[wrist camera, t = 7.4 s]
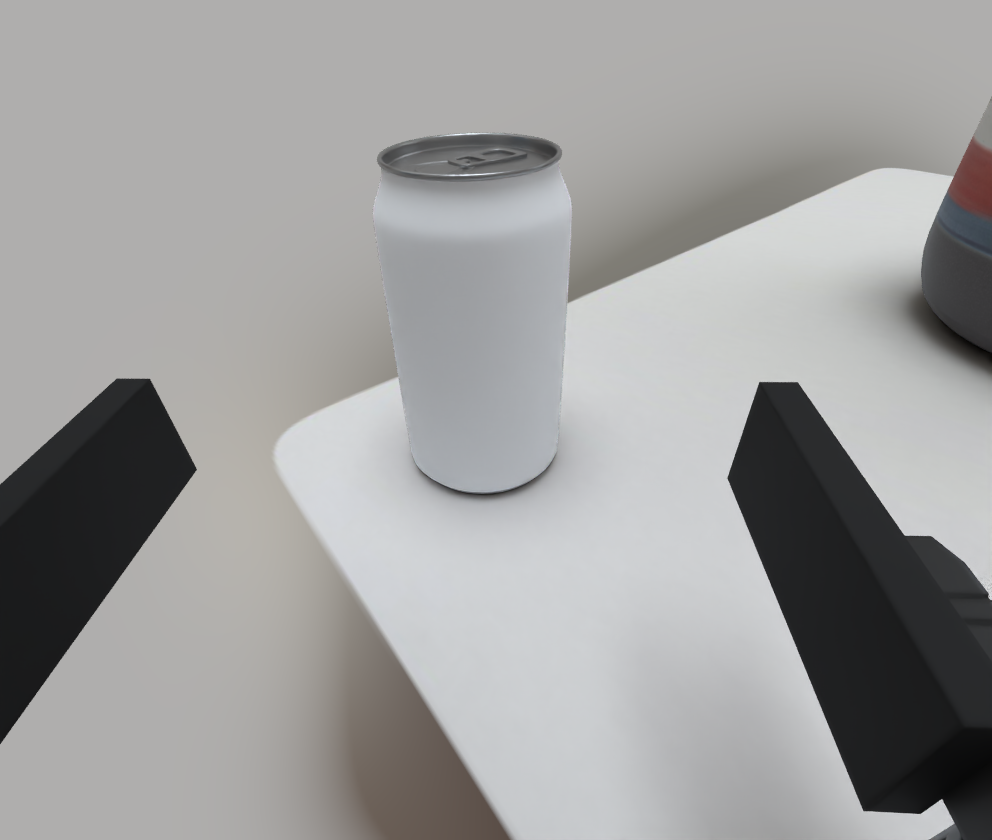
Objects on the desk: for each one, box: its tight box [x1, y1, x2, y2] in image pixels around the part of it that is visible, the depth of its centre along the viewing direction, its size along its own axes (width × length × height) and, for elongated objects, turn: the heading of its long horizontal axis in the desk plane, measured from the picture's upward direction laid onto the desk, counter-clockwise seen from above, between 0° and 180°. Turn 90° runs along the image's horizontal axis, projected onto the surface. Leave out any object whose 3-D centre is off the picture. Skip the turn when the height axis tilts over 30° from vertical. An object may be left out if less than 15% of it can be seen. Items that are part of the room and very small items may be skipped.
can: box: [373, 133, 572, 494], centre depth 20 cm, size 6×6×12 cm
